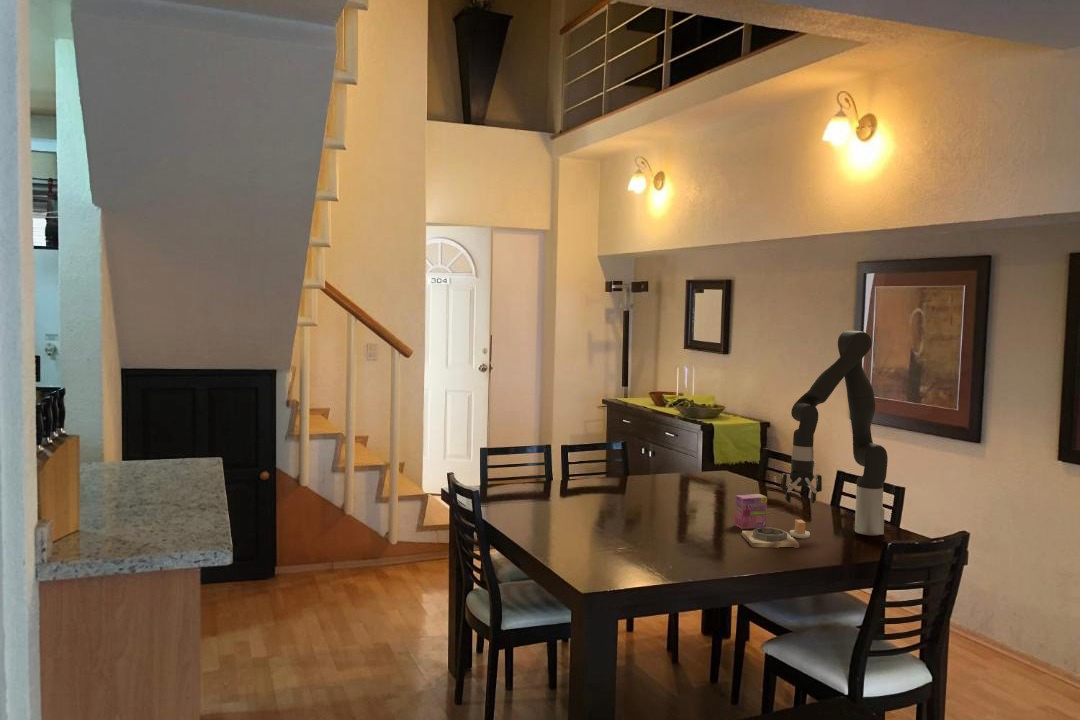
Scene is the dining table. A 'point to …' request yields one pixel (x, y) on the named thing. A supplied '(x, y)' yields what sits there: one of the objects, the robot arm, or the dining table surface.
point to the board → (762, 543)
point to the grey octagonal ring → (765, 531)
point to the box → (750, 511)
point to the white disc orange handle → (799, 530)
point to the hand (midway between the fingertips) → (800, 502)
